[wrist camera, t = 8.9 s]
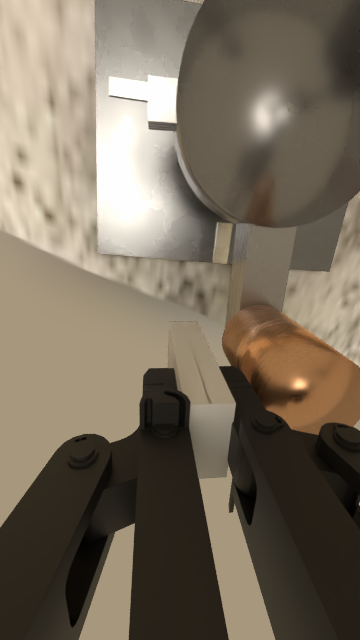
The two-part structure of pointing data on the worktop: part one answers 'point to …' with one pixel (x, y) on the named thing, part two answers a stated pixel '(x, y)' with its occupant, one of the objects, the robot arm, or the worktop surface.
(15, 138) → the worktop surface
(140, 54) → the mount plate
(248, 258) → the dark dome with handle
